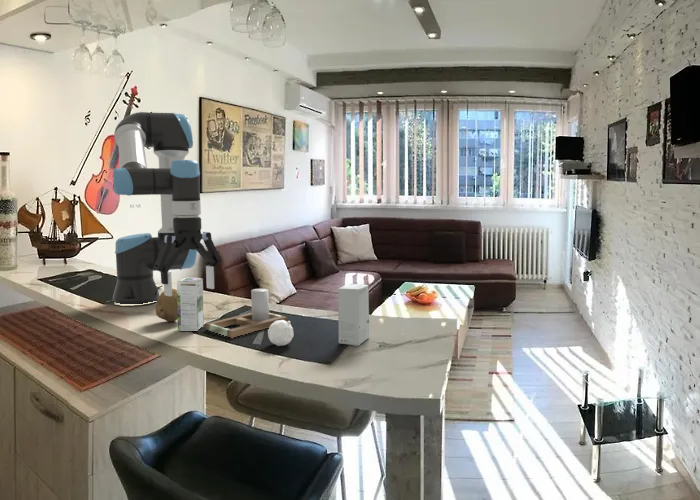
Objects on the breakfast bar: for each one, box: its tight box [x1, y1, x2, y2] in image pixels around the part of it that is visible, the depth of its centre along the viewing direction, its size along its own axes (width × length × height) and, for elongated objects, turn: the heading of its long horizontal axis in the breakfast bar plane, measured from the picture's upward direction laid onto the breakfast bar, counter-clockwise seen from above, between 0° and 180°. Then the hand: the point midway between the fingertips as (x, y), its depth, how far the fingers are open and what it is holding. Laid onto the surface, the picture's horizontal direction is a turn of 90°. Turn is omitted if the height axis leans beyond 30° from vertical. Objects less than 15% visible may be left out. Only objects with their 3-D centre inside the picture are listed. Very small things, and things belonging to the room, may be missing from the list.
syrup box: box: [176, 277, 205, 332], centre depth 155 cm, size 6×6×14 cm
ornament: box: [267, 320, 295, 347], centre depth 142 cm, size 6×7×7 cm
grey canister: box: [250, 288, 270, 322], centre depth 162 cm, size 5×5×10 cm
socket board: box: [204, 312, 288, 339], centre depth 159 cm, size 12×20×2 cm, turn 139°
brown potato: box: [155, 288, 178, 323], centre depth 164 cm, size 9×9×10 cm
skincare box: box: [337, 283, 370, 347], centre depth 145 cm, size 8×6×15 cm
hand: (190, 292), depth 155 cm, fingers open, 13 cm apart
